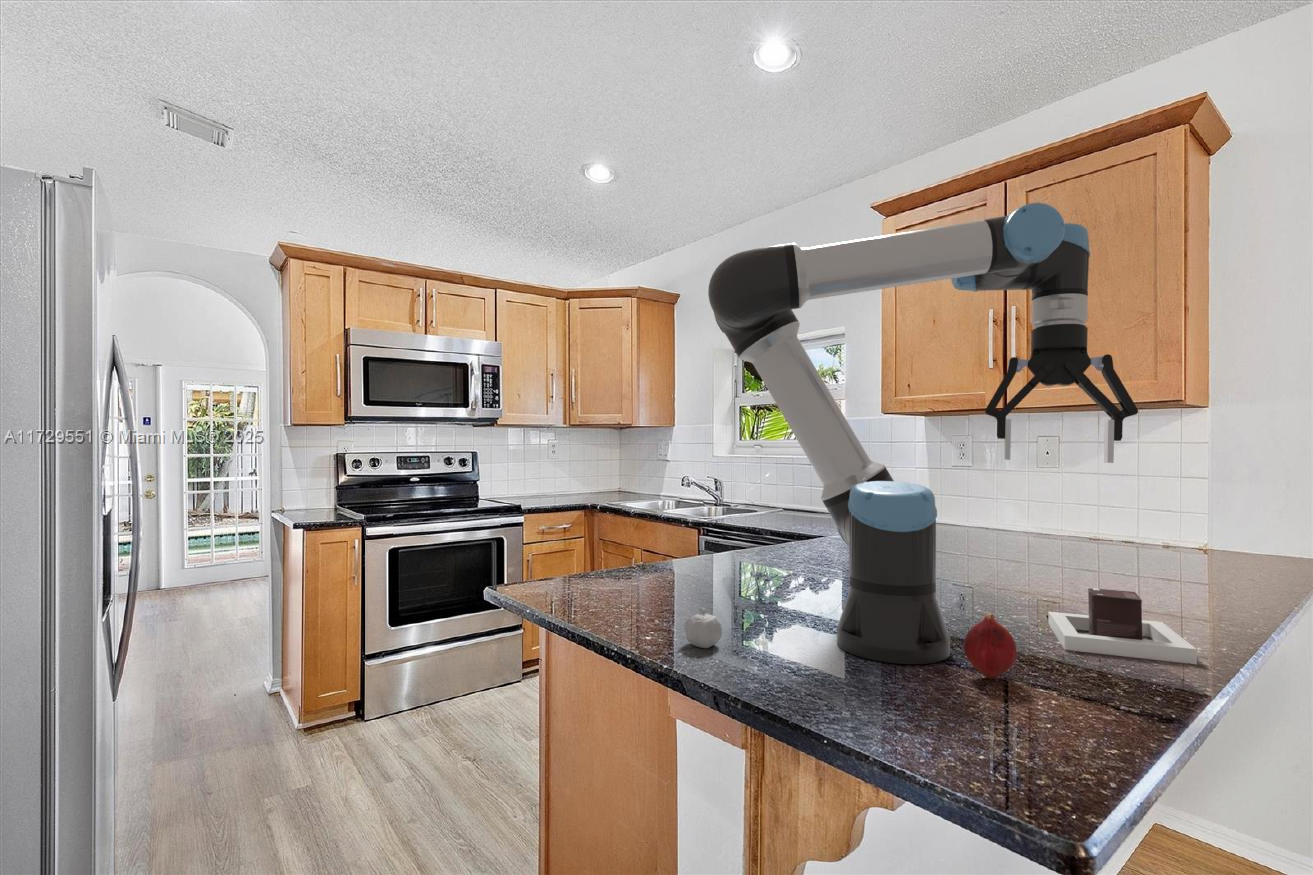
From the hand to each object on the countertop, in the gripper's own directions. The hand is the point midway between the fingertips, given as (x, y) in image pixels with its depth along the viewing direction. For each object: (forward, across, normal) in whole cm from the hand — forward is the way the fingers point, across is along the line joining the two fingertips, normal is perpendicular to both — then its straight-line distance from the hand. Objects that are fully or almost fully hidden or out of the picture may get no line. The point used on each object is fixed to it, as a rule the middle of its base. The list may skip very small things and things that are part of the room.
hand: (1056, 461), depth 101 cm
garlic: (+28, -46, -31) cm, 62 cm away
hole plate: (+26, +8, -2) cm, 28 cm away
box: (+27, +8, -2) cm, 28 cm away
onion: (+27, -10, -28) cm, 40 cm away
